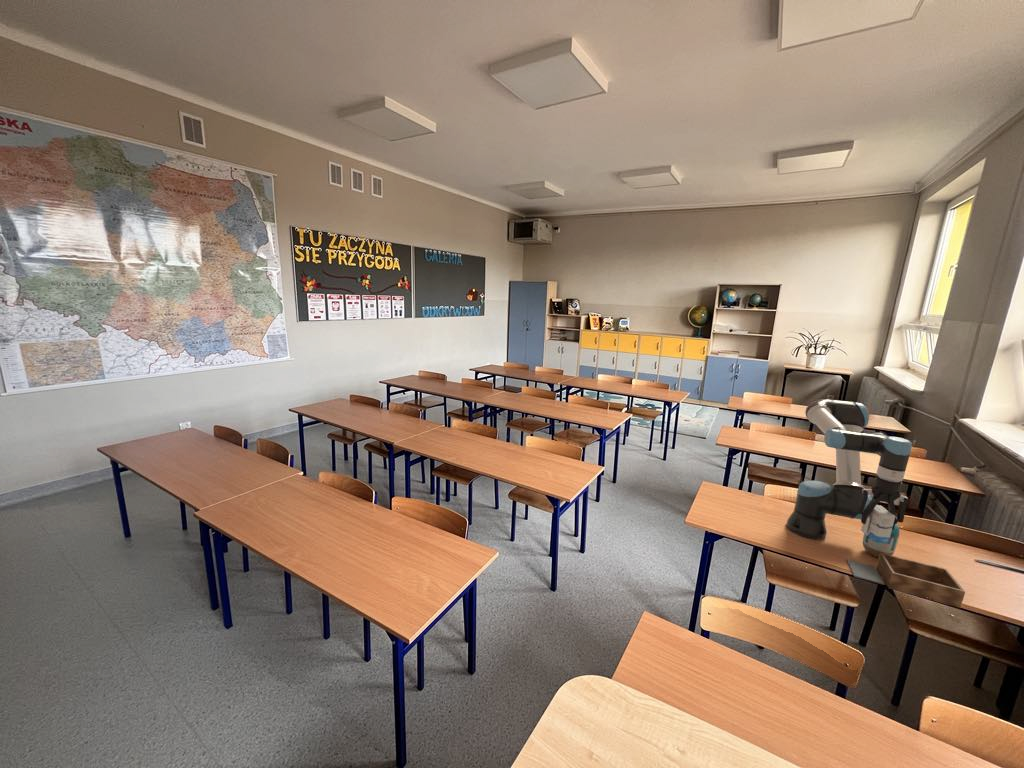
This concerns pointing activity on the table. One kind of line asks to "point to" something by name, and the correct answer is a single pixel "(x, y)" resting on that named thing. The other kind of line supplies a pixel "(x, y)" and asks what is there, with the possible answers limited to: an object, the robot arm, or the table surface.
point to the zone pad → (865, 571)
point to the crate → (920, 580)
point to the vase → (882, 544)
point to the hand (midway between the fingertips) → (874, 533)
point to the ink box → (880, 525)
